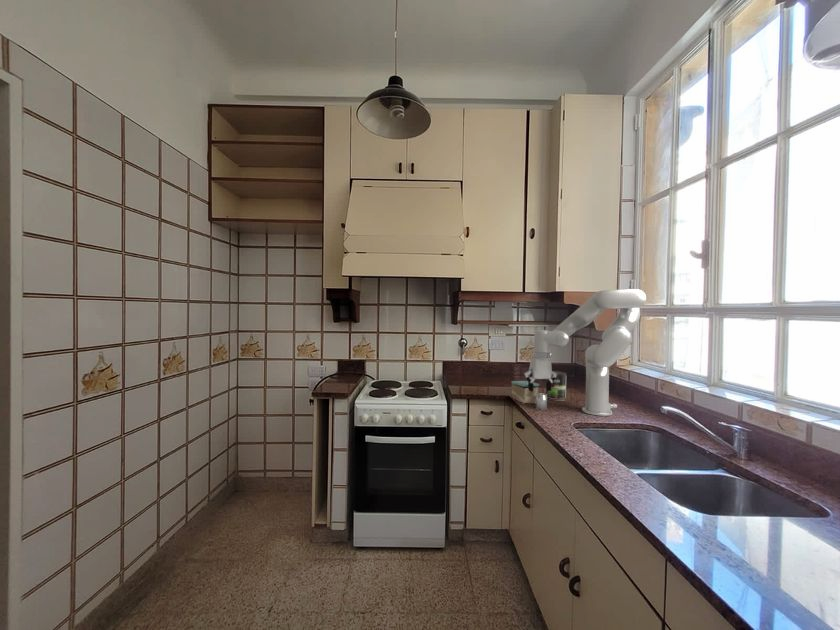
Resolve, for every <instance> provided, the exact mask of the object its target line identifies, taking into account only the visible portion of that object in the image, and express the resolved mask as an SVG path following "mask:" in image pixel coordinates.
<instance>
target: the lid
mask: <svg viewBox="0 0 840 630" xmlns="http://www.w3.org/2000/svg"><path fill="white" fill-rule="evenodd" d="M512 384H516V385H519V386H523V387H526V386H528V381H527V380H516V381H515V380H513V381H512V380H511V385H512ZM533 384H534V386H536V387H539V386H541V385H540V384H541V383H538V382H535V381H533Z"/></svg>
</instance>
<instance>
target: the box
mask: <svg viewBox="0 0 840 630" xmlns="http://www.w3.org/2000/svg"><path fill="white" fill-rule="evenodd" d="M536 393H540V387H539V386H533V391H529V390H528V386H526V387H523V386H519V385H516V384H512V383H511V398H512V397H514V398H515V399H517V400H519V401H521V402H523V403H535V404H536Z"/></svg>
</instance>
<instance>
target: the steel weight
mask: <svg viewBox="0 0 840 630" xmlns="http://www.w3.org/2000/svg"><path fill="white" fill-rule="evenodd" d="M536 408H538V409H537V410H539V409H548V398H547V394H546V392H545V393H544V392H539V393H536V403H535V409H536Z"/></svg>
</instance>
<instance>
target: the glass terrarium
mask: <svg viewBox="0 0 840 630" xmlns="http://www.w3.org/2000/svg"><path fill="white" fill-rule="evenodd" d="M552 371H553V372H555V373H556V374H557V376H556V378H555V380H554V381H553V383H552V389H551V391H548V390H546V389H545V390H546V391H545V394H547V397H549V398H553V399H564V398H566V399H567V373H566V372H564V371H559V370H552ZM551 377H552V376H551ZM545 381H546V382H545V383H547V382H548V381H547V380H546V379H545Z"/></svg>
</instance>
